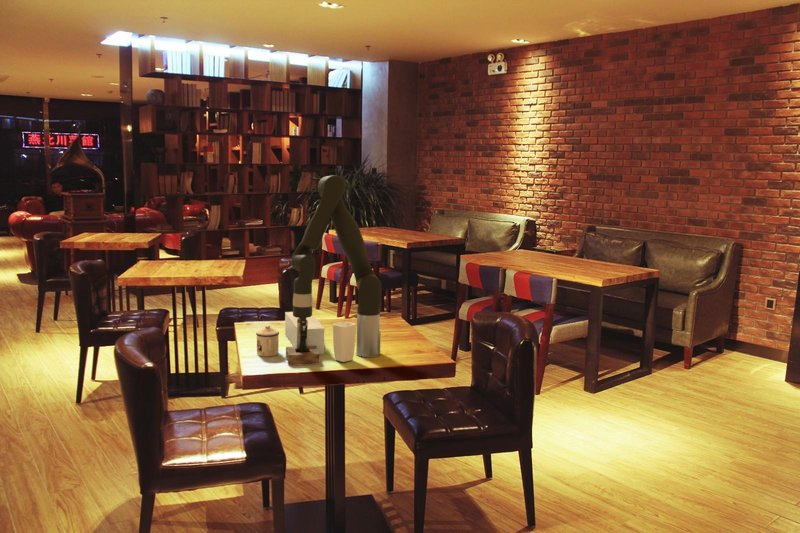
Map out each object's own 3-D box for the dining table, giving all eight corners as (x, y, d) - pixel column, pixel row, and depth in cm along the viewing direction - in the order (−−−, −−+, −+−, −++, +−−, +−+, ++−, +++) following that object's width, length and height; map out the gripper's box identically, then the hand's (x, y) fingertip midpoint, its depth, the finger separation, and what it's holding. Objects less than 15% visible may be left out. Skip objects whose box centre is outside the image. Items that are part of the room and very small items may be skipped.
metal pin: (306, 353, 278) (306, 323, 276) (307, 355, 274) (307, 326, 272) (296, 353, 277) (296, 323, 275) (297, 356, 273) (297, 326, 271)
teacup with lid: (254, 351, 286) (254, 323, 284) (277, 349, 289) (277, 322, 287) (258, 359, 275) (258, 330, 273) (282, 358, 278) (282, 329, 276)
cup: (330, 360, 277) (331, 323, 275) (345, 356, 282) (345, 320, 280) (342, 364, 272) (343, 327, 270) (356, 360, 277) (357, 324, 275)
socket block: (315, 355, 283) (315, 345, 283) (319, 363, 272) (319, 353, 271) (285, 356, 280) (285, 346, 280) (288, 365, 269) (288, 355, 268)
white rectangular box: (324, 353, 287) (324, 328, 285) (298, 355, 283) (298, 329, 281) (308, 334, 316) (308, 311, 315) (285, 335, 313) (285, 312, 311)
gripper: (314, 308, 267) (313, 351, 269) (310, 300, 280) (309, 341, 283) (294, 308, 265) (294, 352, 268) (291, 300, 279) (291, 342, 281)
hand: (302, 346), depth 275 cm, fingers closed on metal pin, 4 cm apart
